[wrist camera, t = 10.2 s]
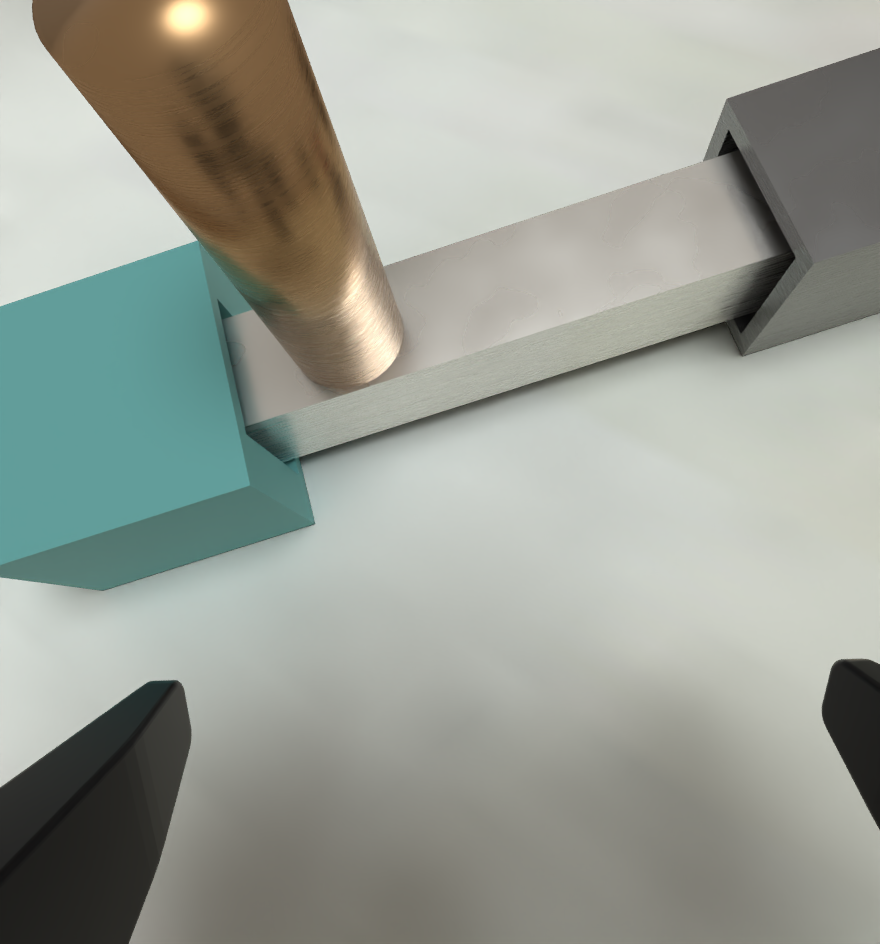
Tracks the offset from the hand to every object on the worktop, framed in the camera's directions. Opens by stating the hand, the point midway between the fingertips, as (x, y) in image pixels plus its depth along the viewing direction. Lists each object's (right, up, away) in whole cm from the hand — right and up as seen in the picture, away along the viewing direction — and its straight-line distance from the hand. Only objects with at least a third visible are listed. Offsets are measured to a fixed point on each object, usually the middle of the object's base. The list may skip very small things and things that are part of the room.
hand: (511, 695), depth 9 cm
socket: (-9, +4, +12) cm, 16 cm away
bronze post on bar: (+1, +7, +11) cm, 13 cm away
